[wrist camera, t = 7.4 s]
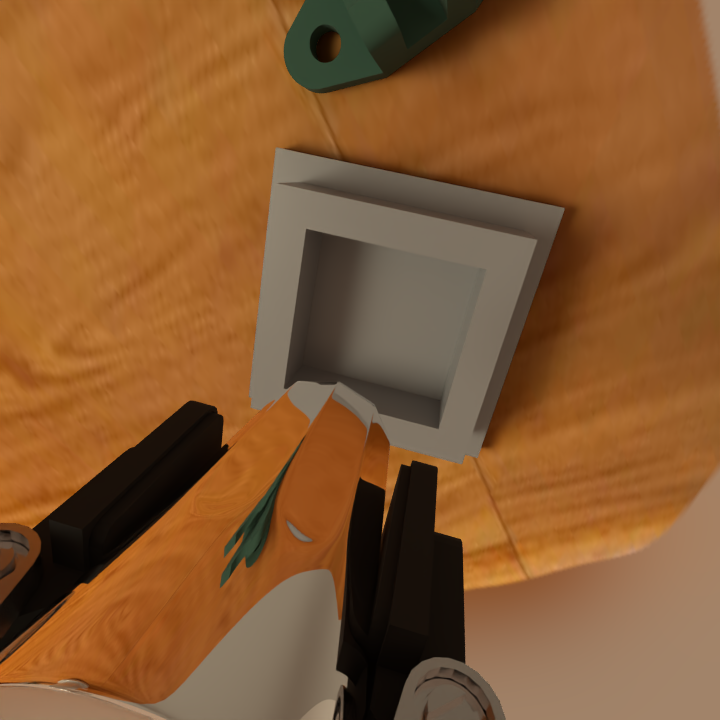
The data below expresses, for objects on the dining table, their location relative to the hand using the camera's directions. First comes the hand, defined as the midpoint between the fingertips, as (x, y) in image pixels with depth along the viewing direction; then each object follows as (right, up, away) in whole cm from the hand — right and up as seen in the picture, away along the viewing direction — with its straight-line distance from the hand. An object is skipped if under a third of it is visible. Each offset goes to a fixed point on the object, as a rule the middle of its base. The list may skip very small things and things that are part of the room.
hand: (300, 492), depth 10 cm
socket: (+3, +5, +14) cm, 15 cm away
